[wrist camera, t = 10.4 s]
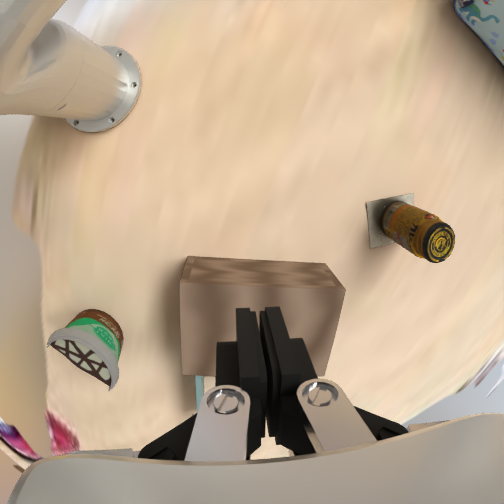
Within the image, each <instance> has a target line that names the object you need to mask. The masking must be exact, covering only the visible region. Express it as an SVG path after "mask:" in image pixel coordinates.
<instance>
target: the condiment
mask: <svg viewBox="0 0 504 504" xmlns="http://www.w3.org/2000/svg"><path fill="white" fill-rule="evenodd" d="M367 213H368V225H369V235H370V248H376V247H379V246H383V245H388V244H391V243H395V242H396V243H398V244H399V245H401V246H402V247H403V248H405V249H406V250H408V251H410V252H411V253H413V254H414V255H415V256H417V257H420V258H425V259H427V260H428V261H430V262H433V263H439V262H442V261H444V260H445V259H446V258H447V257H449V256H450V254H451V252H452V250H453V248H454V244H455V235H454V232H453V230H452V228H451V227H450V226H449V225H448V224H447V223H444V222H443V221H441V219H440V218H439V217H437V216H435V215H434V214H431V213H429V212H426V211H424V210H422V209H419V208H417V207H415V206H414V194H413V193H412V194H406V195H401V196H396V197H391V198H387V199H381V200H376V201H372V202H367ZM380 232H381V233H380ZM382 233H383V234H382Z"/></svg>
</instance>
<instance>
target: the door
mask: <svg viewBox="0 0 504 504" xmlns="http://www.w3.org/2000/svg"><path fill="white" fill-rule="evenodd" d="M195 382H196V401H197V413H198V410H199V407H200V403H201V399H202V397H203V395H204V376H195ZM193 415H195V414H192V416H193Z"/></svg>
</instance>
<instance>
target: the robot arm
mask: <svg viewBox="0 0 504 504" xmlns="http://www.w3.org/2000/svg"><path fill="white" fill-rule="evenodd" d="M65 1H66V0H0V115H6V114H23V115H36V116H48V117H58V118H65V119H66V121H67V122H68V123H69V124H70V125H71V126H72V127H74V128H76V129H78V130H81V131H84V132H100V131H104V130H108V129H110V128H112V127H114V126H116V125H117V124H118V123H120V122H121V121H122V120H123V119H124V118H126V117H127V116H128V114H129V113H130V112H131V110H132V109H133V108H134V106H135V104H136V102H137V100H138V97H139V94H140V90H141V72H140V68H139V66H138V64H137V62H136V61H135V59H134V58H133V57H132V56H131V55H130V54H129V53H128V52H126V51H125V50H123V49H121V48H118V47H115V46H101V47H100V46H99V45H97V44H96V43H94V42H93V41H92V40H90V39H89V38H87V37H86V36H84V35H83V34H81V33H80V32H79V31H77V30H76V29H74V28H73V27H71V26H70V25H68V24H66V23H64V22H62V21H59V20H55V19H51V18H52V17H53V16H54V14H55V13H56V12H57V11H58V10H59V8H60V7H61V6H62V5H63V4H64V3H65ZM120 54H122V55H121V56H120ZM135 84H137V86H136V87H135V88H134V85H135ZM113 119H114V122H112V120H113ZM78 121H79V124H78ZM266 420H267V426H268V433H269V437H275V441H276V445H282V446H284V447H286V448H288V449H289V455H290V457H282V458H271V459H258V460H251V454H252V453H253V452H254V451H255V450H257V449H258V448H259V447H260V446H261V438H264V437H265V422H266ZM7 504H504V414H501V413H481V414H475V415H469V416H465V417H461V418H457V419H453V420H448V421H440V422H432V423H422V424H411V425H409V426H408V428H405V427H403V426H402V425H400V424H398V423H396V422H393V421H390V420H388V419H385V418H383V417H380V416H377V415H375V414H372V413H370V412H367V411H365V410H362V409H360V408H357V407H355V406H353V405H352V403H351V402H350V400H349V399H348V398H347V396H346V395H345V393H344V392H343V390H342V389H341V388H340V387H339V386H338V385H337V384H336V383H334V382H332V381H330V380H326V379H318V377H317V374H316V372H315V369H314V366H313V364H312V361H311V359H310V356H309V353H308V351H307V348H306V345H305V343H304V340H303V338H290V337H289V334H288V331H287V328H286V324H285V321H284V318H283V315H282V312H281V309H280V306H275V307H265V311H260V314H259V327H258V322H257V316H256V311H250V308H236V341H227V342H217V344H216V387H213V388H211V389H209V390H208V391H207V392H206V393H205V394H204V395H203V397H202V399H201V403H200V407H199V410H198V413H196V414H195V415H193V416H192V417H190V418H189V419H187V420H186V421H184V422H183V423H181V424H180V425H178V426H177V427H175V428H173V429H172V430H170V431H169V432H167V433H165V434H164V435H162V436H161V437H159V438H157V439H156V440H154V441H152V442H151V443H149V444H148V445H146V446H145V447H144V448H142V450H141V451H133V450H132V448H131V449H117V450H94V451H74V452H70V453H68V454H67V455H60V456H52V457H48V458H44V459H41V460H38V461H36V462H34V463H33V464H31V465H30V466H29V467H28V468H27V469H26V470H25V471H24V472H23V474H22V475H21V477H20V478H19V480H18V482H17V483H16V485H15V487H14V489H13V491H12V493H11V495H10V497H9V500H8V502H7Z"/></svg>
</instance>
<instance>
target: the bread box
mask: <svg viewBox="0 0 504 504" xmlns="http://www.w3.org/2000/svg"><path fill="white" fill-rule="evenodd" d="M345 291H346V289H345V288H344V287H343V285H342V284H341V283H340V282H339V280H338V279H337V278H336V276H335V275H334V274H333V273H332V271H331V270H330V269H329V267H328V266H327V265H326V264H325V263H306V262H287V261H268V260H249V259H231V258H213V257H195V256H188V258H187V261H186V264H185V267H184V270H183V273H182V277H181V280H180V333H181V360H182V375H195V376H213V377H216V344H217V342H227V341H236V308H250V311H256V316H257V322H258V327H259V314H260V311H265V307H275V306H280V309H281V312H282V315H283V318H284V321H285V324H286V328H287V331H288V334H289V337H290V338H303V340H304V343H305V345H306V348H307V351H308V353H309V356H310V359H311V361H312V364H313V366H314V369H315V372H316V374H317V377H318V376H324V375H325V371H326V368H327V364H328V360H329V357H330V353H331V349H332V345H333V342H334V338H335V334H336V330H337V326H338V322H339V317H340V313H341V309H342V305H343V300H344V296H345Z"/></svg>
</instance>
